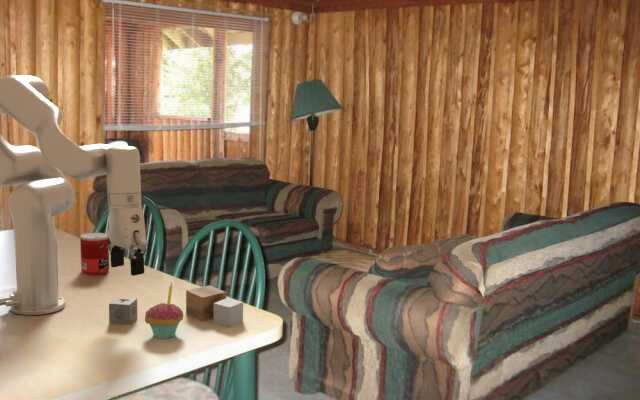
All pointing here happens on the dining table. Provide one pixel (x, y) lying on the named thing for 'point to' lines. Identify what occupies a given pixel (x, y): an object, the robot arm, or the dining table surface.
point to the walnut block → (203, 301)
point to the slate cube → (228, 312)
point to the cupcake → (164, 318)
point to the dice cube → (123, 311)
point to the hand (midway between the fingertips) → (127, 270)
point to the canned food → (94, 253)
